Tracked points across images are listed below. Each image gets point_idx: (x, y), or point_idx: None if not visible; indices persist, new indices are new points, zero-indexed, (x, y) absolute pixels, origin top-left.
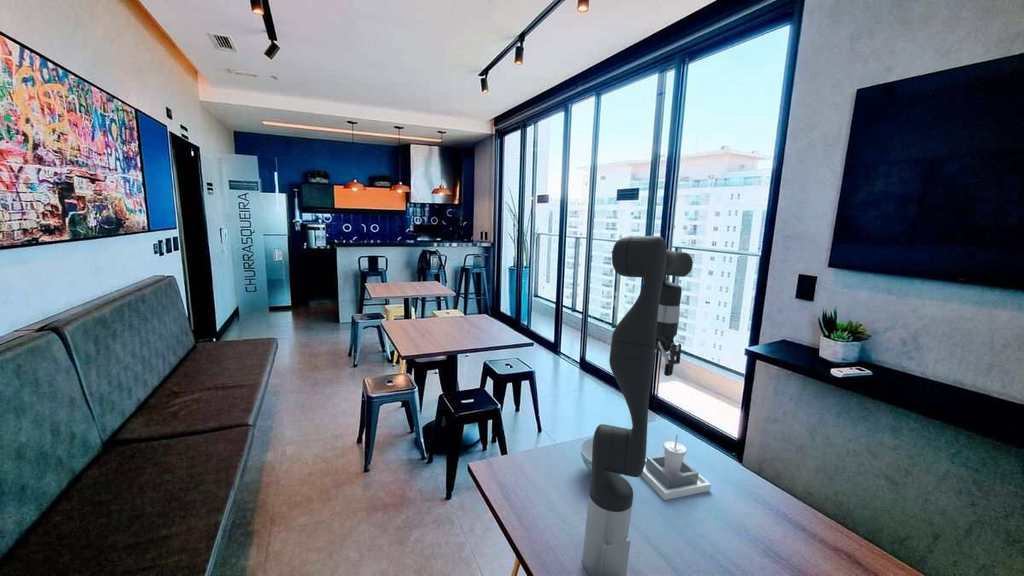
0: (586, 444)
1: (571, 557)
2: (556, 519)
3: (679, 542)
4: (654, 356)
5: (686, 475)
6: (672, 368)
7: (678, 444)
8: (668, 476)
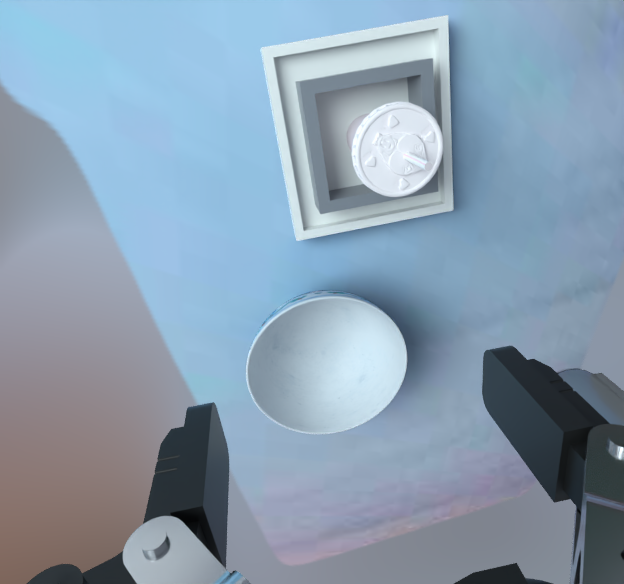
0: (266, 401)
1: None
2: (447, 452)
3: (571, 237)
4: (209, 477)
5: (434, 117)
6: (584, 407)
7: (383, 123)
8: (429, 189)
